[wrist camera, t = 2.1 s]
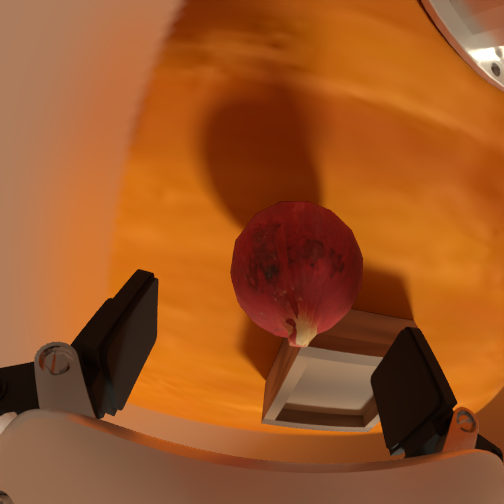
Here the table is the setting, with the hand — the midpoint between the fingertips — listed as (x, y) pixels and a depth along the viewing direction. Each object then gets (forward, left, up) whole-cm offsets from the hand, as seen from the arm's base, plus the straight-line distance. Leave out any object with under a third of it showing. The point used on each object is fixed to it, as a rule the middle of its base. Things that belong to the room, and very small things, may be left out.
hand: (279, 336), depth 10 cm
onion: (-1, 0, -7) cm, 7 cm away
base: (+8, +6, -7) cm, 12 cm away
